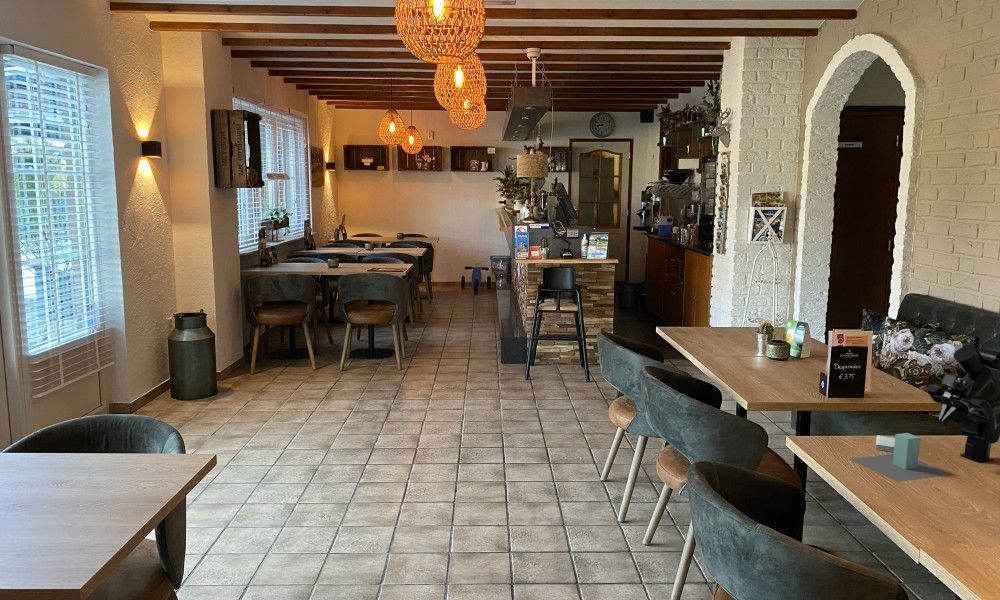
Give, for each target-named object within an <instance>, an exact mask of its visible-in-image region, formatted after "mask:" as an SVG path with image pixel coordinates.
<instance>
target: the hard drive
mask: <svg viewBox="0 0 1000 600" xmlns="http://www.w3.org/2000/svg"><path fill="white" fill-rule="evenodd" d="M875 438H876V439H875V450H877V451H885V452H891V453H894V445H895V437H893V436H892V437H891V436H886V435H878V434H877V435H876V437H875Z"/></svg>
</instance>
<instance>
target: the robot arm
mask: <svg viewBox="0 0 1000 600" xmlns="http://www.w3.org/2000/svg"><path fill="white" fill-rule="evenodd" d="M953 359H954V360H955V362H956V363H957V364H958V366H959V367H960V369H961V370H962V371H963V372H964V373H965V376H963V377H958V376H954V375H950V374H947V373H945V374H944V376H943V378H942V380H941V382H940V384H941V385H943V386H945V387H947V390H948V391H946V390H945V389H944V388H943V386H940V385H935V384H929V385H928V386H927V388H926V389H925V392H926V393H927V394H928V396H929V397H930V399H932V401H933V402H934V403H937V404H940V405H942V406H941V411H940V414H939V417H938V422H939V423H941V424H946V423H949V422H952V421H954V420H957V419H959V421H958V423H959V429H960V434H961V435H962V436H965V437H966V441H965V445H964V452H963V453H960V454H959V455H960V456H961V457H964V458H966V459H969V460H971V461H974V462H976V463H985V462H992V461H995V458H994V457H992V456H991V457H990V454H991V447H992V444H993V445H994V444H996V443H998V442H999V440H1000V434H999V432H998V431H997V426H999V425H1000V405H997V406H995V407H992V406H991V404H990V403H989V402H988V401H987V399H984V398H979V397H982V396H983V395H984V393H983V390H984V389H985V387H986V386H987V385H988V384H989V383H994V384H995V383H997V377H996V372H992V370H995V371H997V372H998V371H999V372H1000V350H996V349H992V348H987V347H984V348H982V350H980V351H979V349H978V346H976V345H975V344H971V343H969V344H968V345H967V346H963V347H960V348H958V349H956V350H955V352H954V353H953Z"/></svg>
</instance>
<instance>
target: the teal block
mask: <svg viewBox="0 0 1000 600" xmlns="http://www.w3.org/2000/svg"><path fill="white" fill-rule="evenodd" d="M894 438H895V445H894V452H893V454H894V455H893V464H894V465H896V466H899V467H901V468H903V469H912V468H917V467H918V460H919V456H920V455H919V454H920V448H921V446H920V445H921V437H919V436H917V435H914V434H911V433H909V432H903V433H895V437H894Z"/></svg>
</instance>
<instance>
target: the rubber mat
mask: <svg viewBox="0 0 1000 600" xmlns="http://www.w3.org/2000/svg"><path fill="white" fill-rule="evenodd" d="M893 455H894V453H888V454H882V455H874V456H873V455H871V456H864V457H856V458H848V460H849V461H852V462H854V463H856V464H858V465H860V466H863V467H864V468H867V469H869V470H871V471H873V472H876V473H878V474H880V475H882V476H885V477H886V478H888V479H891V480H893V481H896V482H897V483H900V482H905V481H906V482H907V481H914V480H920V479H929V478H936V477H945V476H951V475H954V474H953V473H951V472H948V471H946V470H943V469H941V468H938V467H936V466H934V465H932V464H929V463H927V462H924V461H921V460H919V459H918V467H917V468H912V469H903V468H901V467H899V466H896V465H894V464H893Z"/></svg>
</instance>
